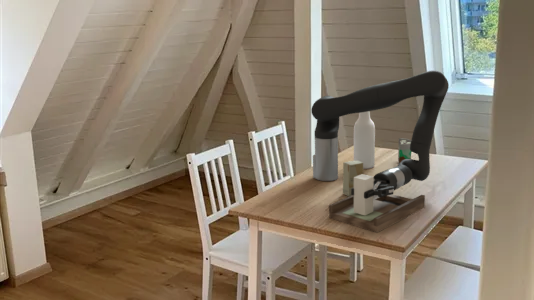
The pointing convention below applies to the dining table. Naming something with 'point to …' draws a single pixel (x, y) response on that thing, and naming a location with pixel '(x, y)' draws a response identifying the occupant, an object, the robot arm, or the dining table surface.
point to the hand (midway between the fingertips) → (358, 193)
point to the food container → (404, 149)
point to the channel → (376, 211)
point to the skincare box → (350, 175)
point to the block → (361, 186)
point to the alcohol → (364, 140)
